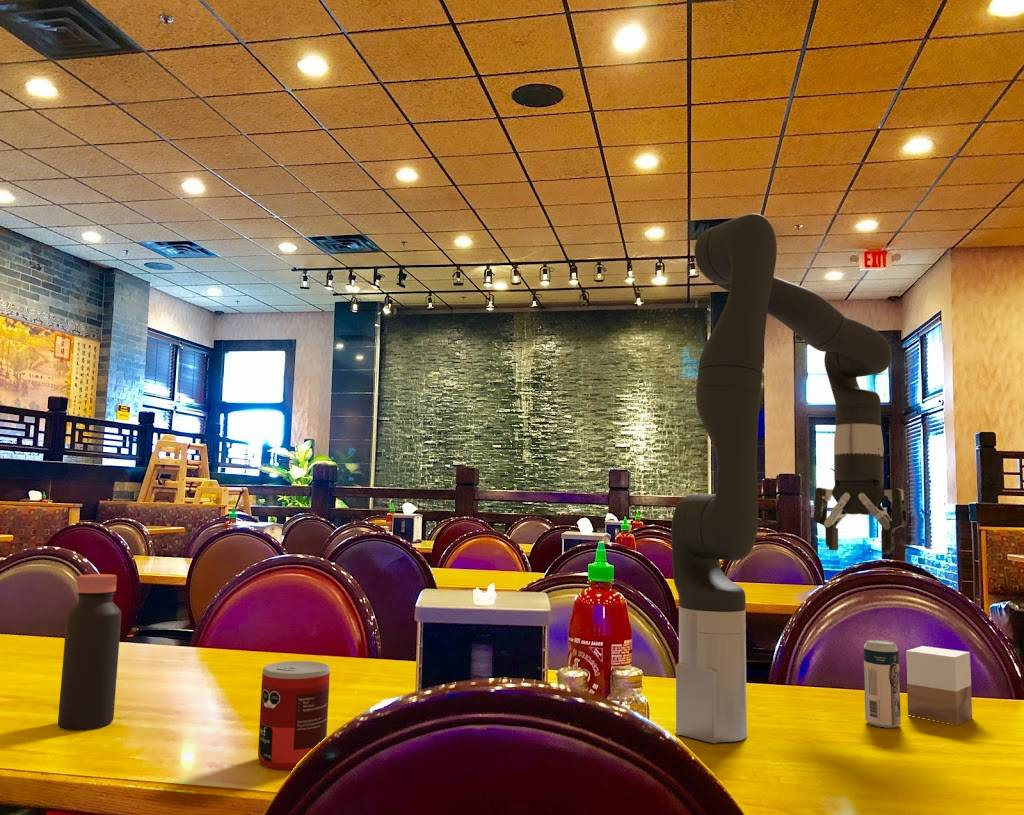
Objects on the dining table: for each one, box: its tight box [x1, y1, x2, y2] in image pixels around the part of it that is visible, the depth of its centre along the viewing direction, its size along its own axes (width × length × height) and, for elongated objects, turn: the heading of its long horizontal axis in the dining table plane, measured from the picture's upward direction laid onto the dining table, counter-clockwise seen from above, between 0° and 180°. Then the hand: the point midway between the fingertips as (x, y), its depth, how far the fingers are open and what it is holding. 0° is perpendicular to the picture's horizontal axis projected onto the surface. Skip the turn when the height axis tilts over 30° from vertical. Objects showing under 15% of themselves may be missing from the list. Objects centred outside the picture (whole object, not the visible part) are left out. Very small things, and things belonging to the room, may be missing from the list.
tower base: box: [906, 683, 973, 726], centre depth 127 cm, size 7×7×5 cm
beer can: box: [863, 639, 902, 729], centre depth 122 cm, size 5×5×12 cm
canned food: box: [257, 660, 331, 771], centre depth 99 cm, size 8×8×11 cm
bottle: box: [57, 573, 122, 731], centre depth 113 cm, size 7×7×20 cm
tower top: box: [905, 645, 972, 692], centre depth 128 cm, size 7×7×5 cm
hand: (859, 552), depth 134 cm, fingers open, 8 cm apart
